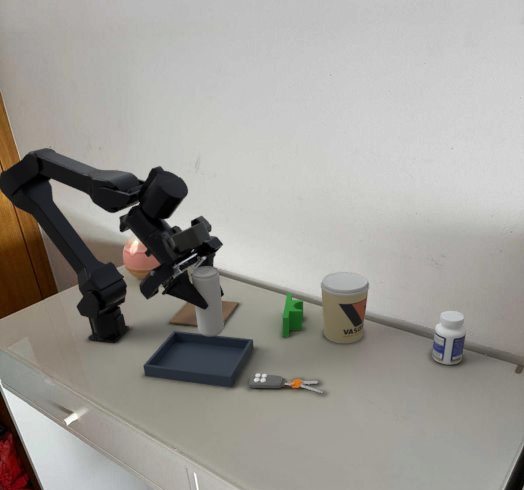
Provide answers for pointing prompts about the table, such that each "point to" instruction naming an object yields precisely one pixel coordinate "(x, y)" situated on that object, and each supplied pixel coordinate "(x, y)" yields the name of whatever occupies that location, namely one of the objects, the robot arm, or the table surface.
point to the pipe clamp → (292, 315)
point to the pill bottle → (449, 338)
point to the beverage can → (209, 300)
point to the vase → (137, 258)
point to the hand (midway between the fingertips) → (214, 302)
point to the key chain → (278, 382)
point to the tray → (200, 358)
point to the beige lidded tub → (344, 306)
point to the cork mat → (189, 313)
